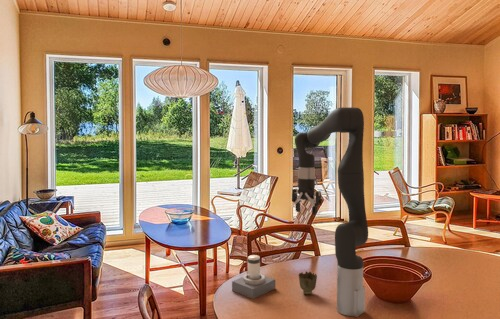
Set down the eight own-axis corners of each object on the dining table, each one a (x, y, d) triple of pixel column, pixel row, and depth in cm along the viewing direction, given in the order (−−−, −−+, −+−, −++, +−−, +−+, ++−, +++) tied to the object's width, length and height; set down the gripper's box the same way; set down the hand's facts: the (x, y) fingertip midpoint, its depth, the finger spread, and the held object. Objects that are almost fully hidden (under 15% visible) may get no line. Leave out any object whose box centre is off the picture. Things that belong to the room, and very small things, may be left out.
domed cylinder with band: (262, 280, 159) (262, 256, 159) (254, 283, 156) (254, 259, 155) (253, 276, 163) (253, 254, 162) (245, 280, 159) (245, 257, 158)
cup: (302, 298, 151) (302, 278, 150) (295, 291, 158) (295, 272, 157) (319, 296, 153) (320, 277, 152) (312, 289, 160) (312, 270, 159)
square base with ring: (275, 288, 160) (275, 275, 160) (253, 299, 150) (253, 285, 150) (254, 281, 168) (254, 269, 168) (232, 290, 158) (232, 277, 158)
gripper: (288, 176, 170) (288, 212, 172) (315, 179, 161) (314, 216, 162) (298, 175, 176) (298, 209, 177) (324, 177, 166) (324, 214, 167)
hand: (306, 213), depth 169 cm, fingers open, 8 cm apart
